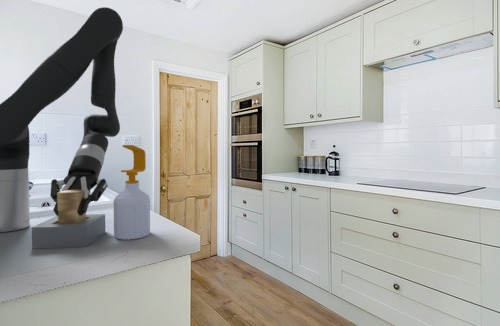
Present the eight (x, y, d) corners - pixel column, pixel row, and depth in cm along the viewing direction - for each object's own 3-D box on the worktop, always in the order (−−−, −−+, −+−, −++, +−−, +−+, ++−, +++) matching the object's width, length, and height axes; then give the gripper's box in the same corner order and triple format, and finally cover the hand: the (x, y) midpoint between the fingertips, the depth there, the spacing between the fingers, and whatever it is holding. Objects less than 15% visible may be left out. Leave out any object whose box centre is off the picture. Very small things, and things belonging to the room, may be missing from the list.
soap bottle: (106, 237, 74) (105, 144, 72) (133, 228, 82) (132, 145, 81) (131, 242, 70) (130, 145, 69) (157, 232, 78) (156, 145, 77)
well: (32, 248, 65) (31, 227, 65) (59, 232, 77) (58, 214, 76) (87, 246, 67) (87, 226, 66) (105, 231, 79) (105, 214, 78)
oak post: (58, 230, 69) (57, 192, 68) (67, 225, 74) (66, 189, 73) (78, 230, 70) (77, 192, 69) (86, 224, 74) (85, 189, 74)
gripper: (55, 154, 77) (30, 206, 66) (110, 154, 79) (94, 205, 68) (66, 171, 82) (43, 222, 71) (117, 171, 85) (103, 220, 73)
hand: (68, 213), depth 70 cm, fingers closed on oak post, 4 cm apart
